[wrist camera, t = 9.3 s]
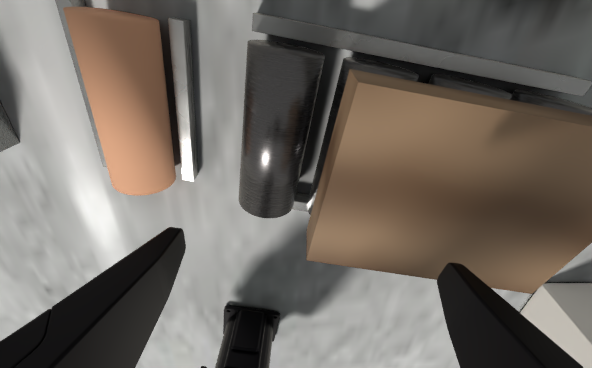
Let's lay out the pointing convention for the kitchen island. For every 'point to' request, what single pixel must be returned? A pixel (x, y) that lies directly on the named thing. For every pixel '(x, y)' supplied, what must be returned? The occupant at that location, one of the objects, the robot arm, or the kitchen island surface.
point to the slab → (452, 184)
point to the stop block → (6, 131)
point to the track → (314, 98)
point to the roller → (126, 95)
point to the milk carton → (564, 317)
